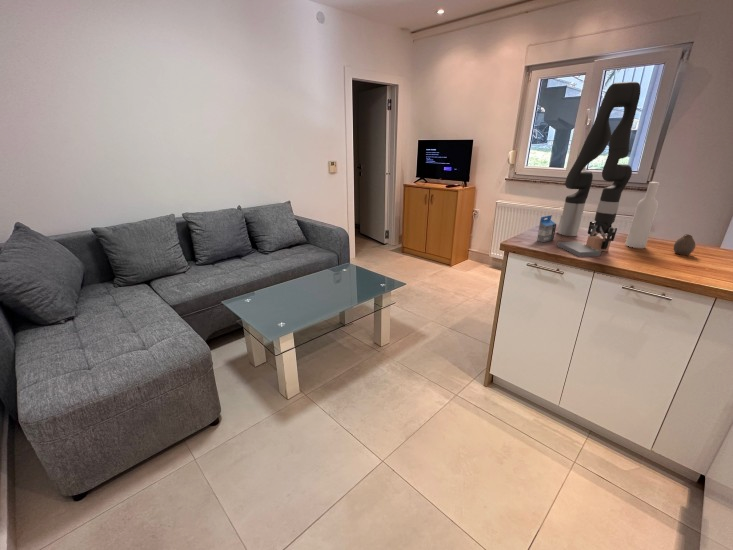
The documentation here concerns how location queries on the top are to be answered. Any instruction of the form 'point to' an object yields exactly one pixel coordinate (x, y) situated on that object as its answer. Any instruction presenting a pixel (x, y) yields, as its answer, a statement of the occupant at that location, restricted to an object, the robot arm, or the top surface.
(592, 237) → the tan rectangular block
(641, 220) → the bottle
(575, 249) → the board
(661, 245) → the top surface
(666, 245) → the top surface
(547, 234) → the label tape box
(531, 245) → the top surface
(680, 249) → the grey pear shaped lump
